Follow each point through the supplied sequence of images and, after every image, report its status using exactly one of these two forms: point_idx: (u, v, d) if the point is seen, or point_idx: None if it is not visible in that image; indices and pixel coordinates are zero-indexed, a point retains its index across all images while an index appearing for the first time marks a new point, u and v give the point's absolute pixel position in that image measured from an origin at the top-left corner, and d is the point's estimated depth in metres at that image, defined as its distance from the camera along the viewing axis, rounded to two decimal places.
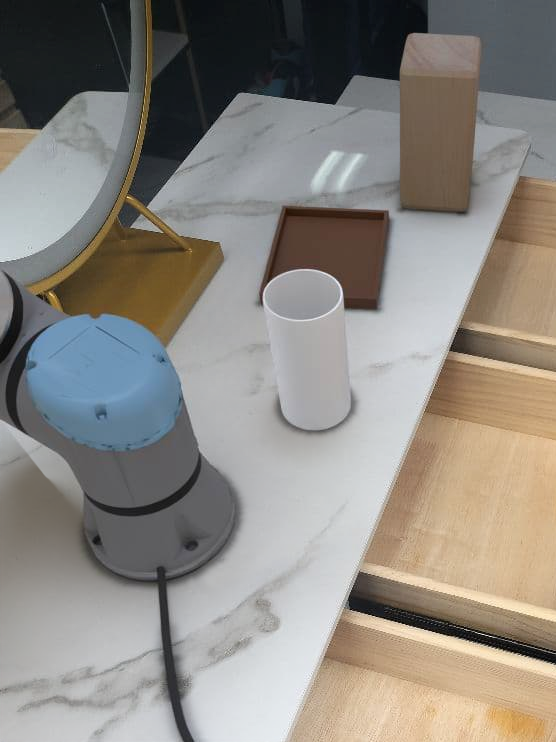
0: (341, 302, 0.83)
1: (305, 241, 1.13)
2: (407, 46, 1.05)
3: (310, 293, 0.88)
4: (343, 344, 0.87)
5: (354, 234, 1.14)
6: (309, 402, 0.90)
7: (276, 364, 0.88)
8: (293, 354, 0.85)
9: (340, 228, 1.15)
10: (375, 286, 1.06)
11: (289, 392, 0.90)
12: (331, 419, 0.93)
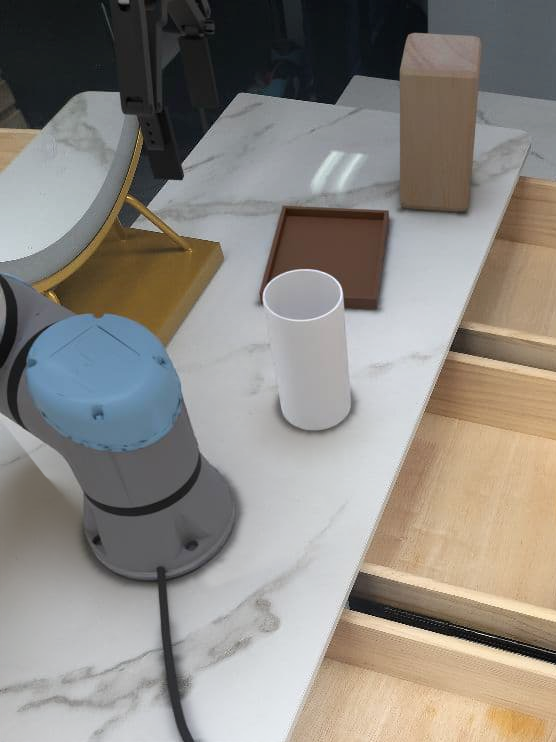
0: (341, 302, 0.83)
1: (305, 241, 1.13)
2: (407, 46, 1.05)
3: (310, 293, 0.88)
4: (343, 344, 0.87)
5: (354, 234, 1.14)
6: (309, 402, 0.90)
7: (276, 364, 0.88)
8: (293, 354, 0.85)
9: (340, 228, 1.15)
10: (375, 286, 1.06)
11: (289, 392, 0.90)
12: (331, 419, 0.93)
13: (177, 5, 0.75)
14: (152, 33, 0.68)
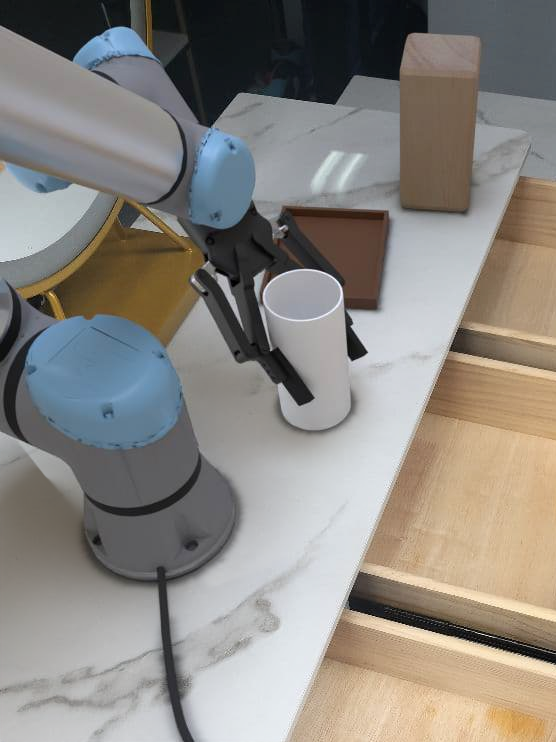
0: (341, 302, 0.83)
1: None
2: (407, 46, 1.05)
3: (310, 293, 0.88)
4: (343, 344, 0.87)
5: (354, 234, 1.14)
6: (309, 402, 0.90)
7: None
8: (293, 354, 0.85)
9: (340, 228, 1.15)
10: (375, 286, 1.06)
11: None
12: (331, 419, 0.93)
13: None
14: (244, 298, 0.83)
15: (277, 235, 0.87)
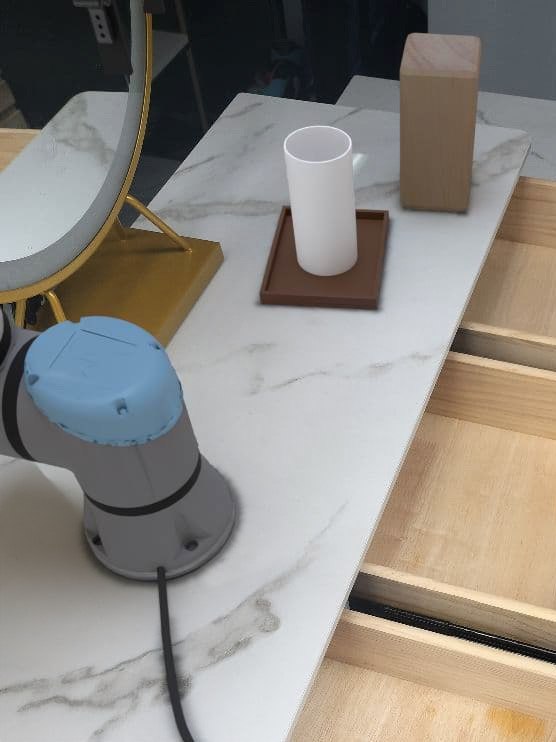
0: (350, 150, 0.98)
1: None
2: (407, 46, 1.05)
3: (323, 149, 1.03)
4: (351, 192, 1.02)
5: None
6: (322, 246, 1.05)
7: (294, 210, 1.03)
8: (309, 197, 0.99)
9: None
10: (375, 286, 1.06)
11: (305, 237, 1.05)
12: (340, 265, 1.08)
13: None
14: None
15: None
